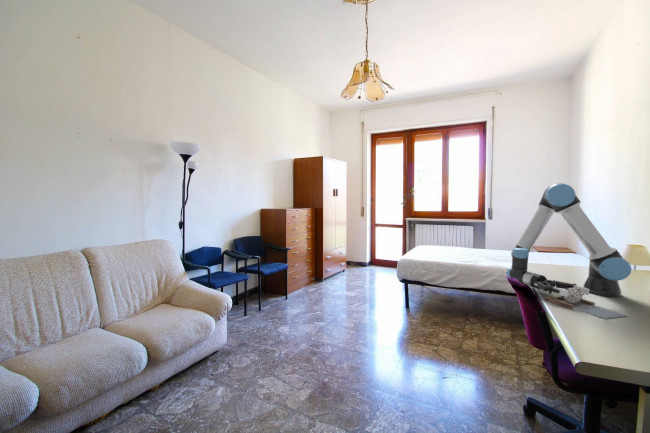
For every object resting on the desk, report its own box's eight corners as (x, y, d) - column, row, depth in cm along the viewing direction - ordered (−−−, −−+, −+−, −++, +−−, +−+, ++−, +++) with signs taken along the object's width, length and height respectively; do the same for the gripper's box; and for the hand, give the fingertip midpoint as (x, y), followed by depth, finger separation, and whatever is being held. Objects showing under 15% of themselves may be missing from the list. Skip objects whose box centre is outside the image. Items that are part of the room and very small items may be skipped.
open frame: (569, 297, 152) (569, 295, 152) (594, 305, 142) (594, 302, 141) (545, 300, 148) (545, 297, 147) (569, 308, 137) (569, 305, 137)
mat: (595, 306, 140) (595, 305, 140) (627, 316, 129) (627, 315, 129) (573, 308, 136) (573, 308, 136) (604, 319, 125) (604, 318, 125)
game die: (576, 312, 142) (592, 300, 136) (558, 304, 144) (573, 292, 138) (571, 298, 149) (586, 286, 143) (553, 291, 151) (568, 278, 144)
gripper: (552, 286, 165) (596, 298, 145) (516, 288, 158) (557, 302, 138) (553, 272, 164) (597, 283, 144) (517, 274, 157) (558, 286, 137)
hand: (578, 292), depth 141 cm, fingers open, 13 cm apart
